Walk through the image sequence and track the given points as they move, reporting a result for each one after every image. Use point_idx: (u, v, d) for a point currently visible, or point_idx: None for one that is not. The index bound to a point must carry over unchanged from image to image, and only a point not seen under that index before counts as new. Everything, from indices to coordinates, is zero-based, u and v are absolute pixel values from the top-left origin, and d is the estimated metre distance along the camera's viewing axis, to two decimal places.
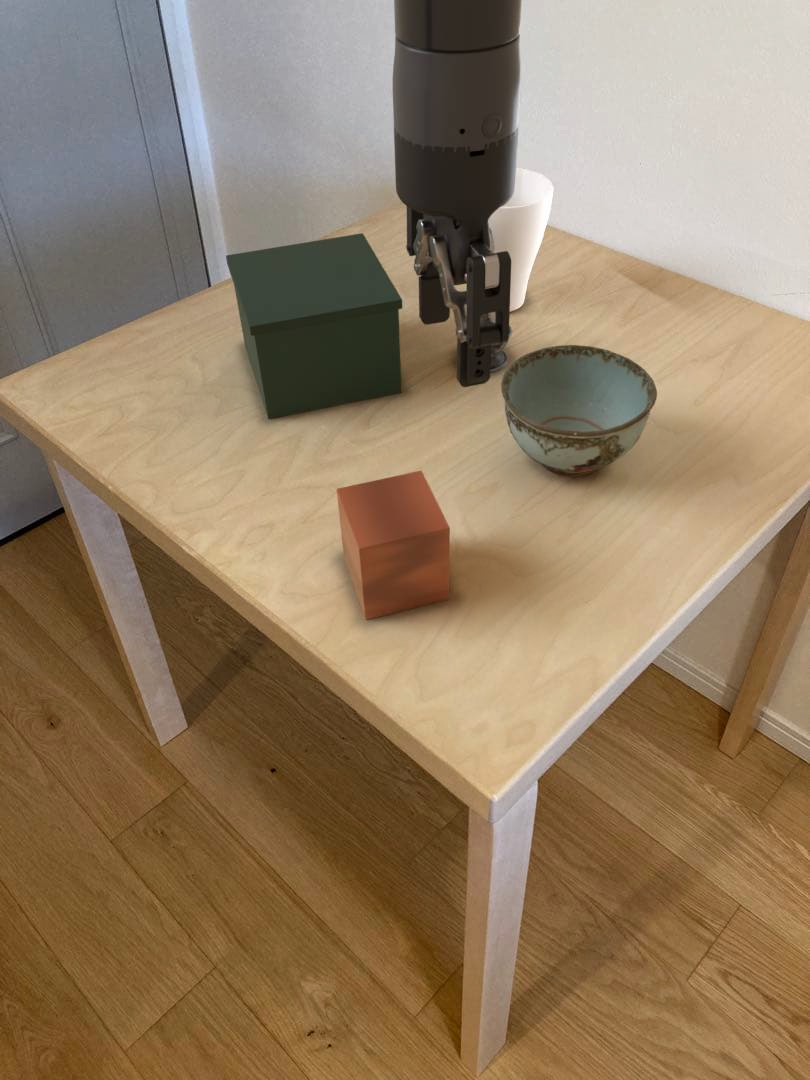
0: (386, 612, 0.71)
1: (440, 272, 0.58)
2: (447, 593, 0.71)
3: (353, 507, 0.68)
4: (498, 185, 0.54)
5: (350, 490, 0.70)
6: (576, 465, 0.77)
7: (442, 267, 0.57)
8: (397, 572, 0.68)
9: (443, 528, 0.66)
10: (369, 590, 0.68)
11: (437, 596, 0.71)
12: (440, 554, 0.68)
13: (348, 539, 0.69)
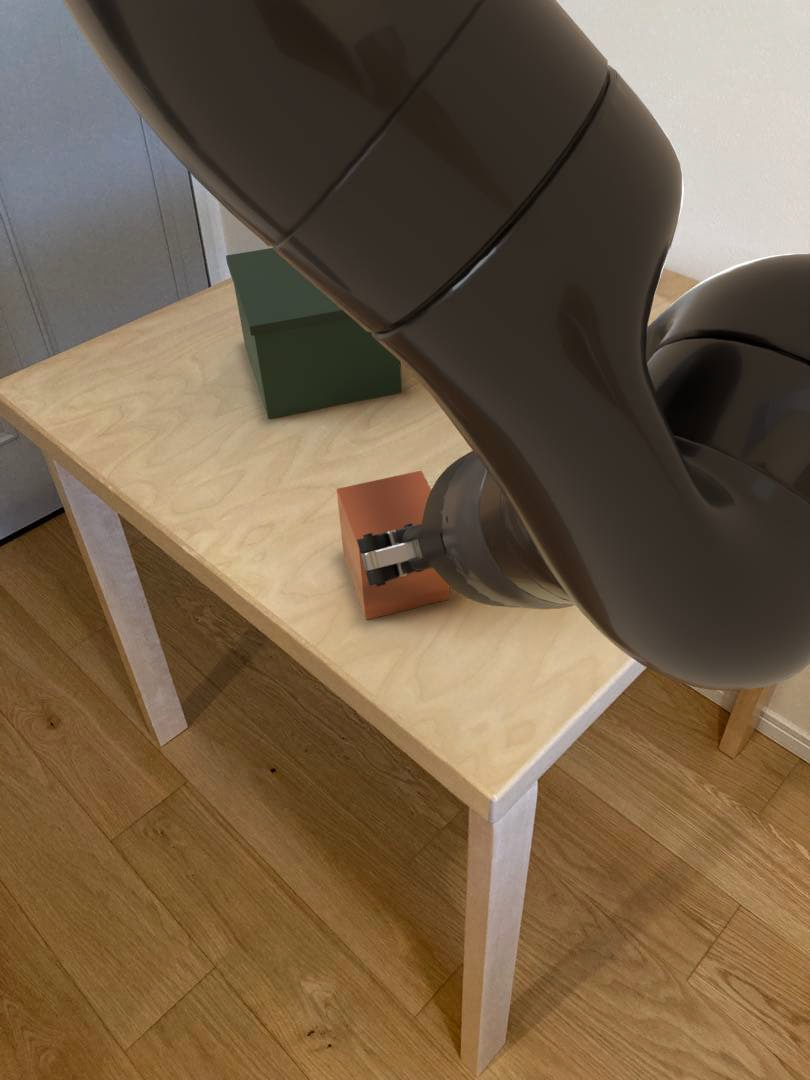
0: (386, 612, 0.71)
1: None
2: (447, 593, 0.71)
3: (353, 507, 0.68)
4: (448, 576, 0.40)
5: (350, 490, 0.70)
6: None
7: None
8: None
9: None
10: (369, 590, 0.68)
11: (437, 596, 0.71)
12: None
13: (348, 539, 0.69)
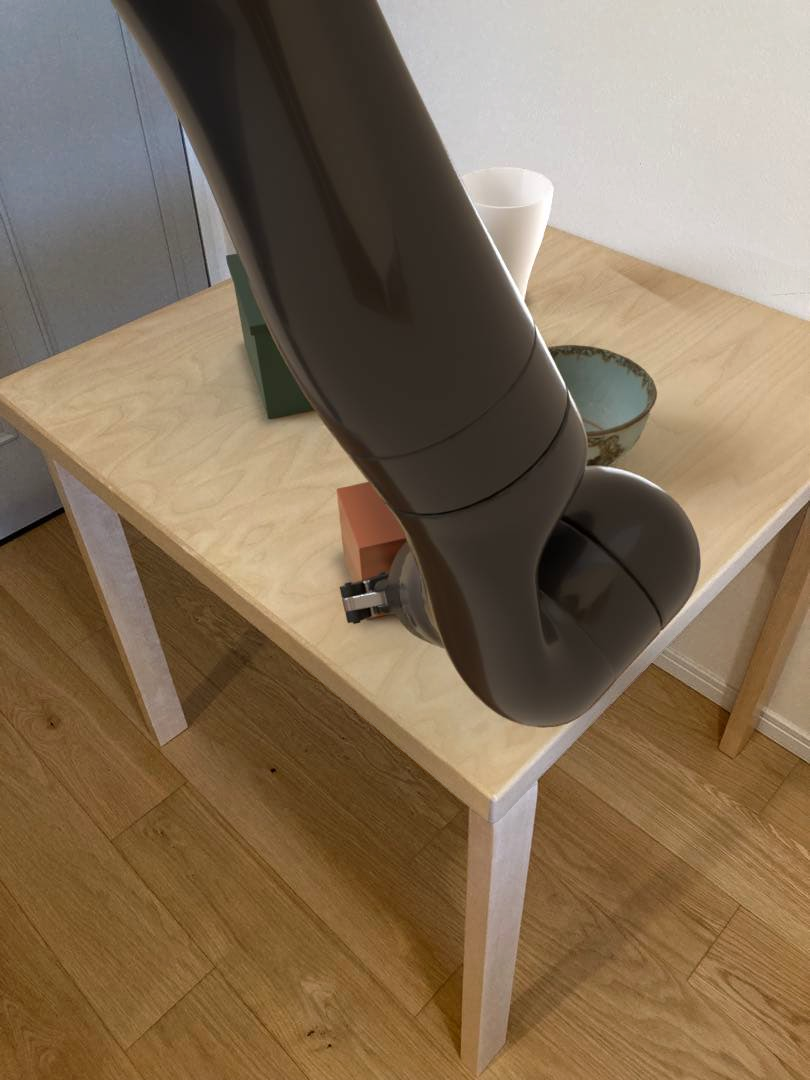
0: None
1: None
2: None
3: (353, 507, 0.68)
4: (404, 623, 0.53)
5: (350, 490, 0.70)
6: None
7: None
8: None
9: None
10: None
11: None
12: None
13: (348, 539, 0.70)
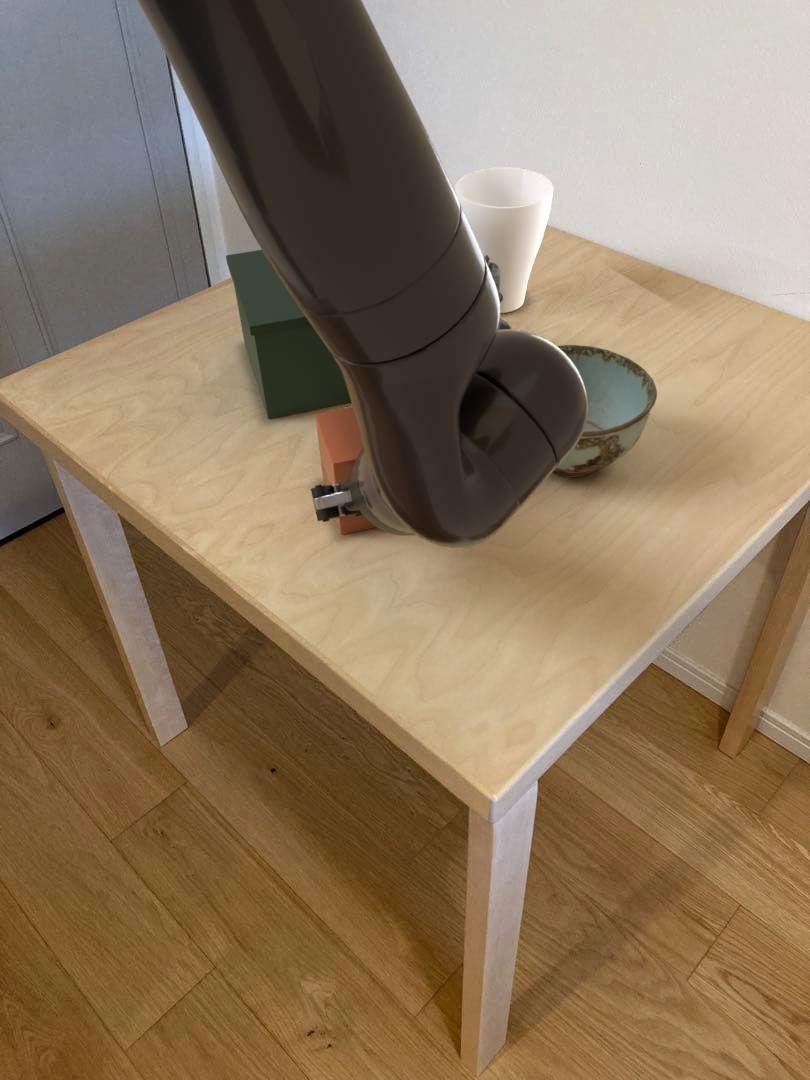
0: (360, 528, 0.78)
1: None
2: None
3: (329, 429, 0.75)
4: (365, 512, 0.60)
5: (327, 415, 0.77)
6: (576, 465, 0.77)
7: None
8: None
9: None
10: None
11: None
12: None
13: (325, 460, 0.76)
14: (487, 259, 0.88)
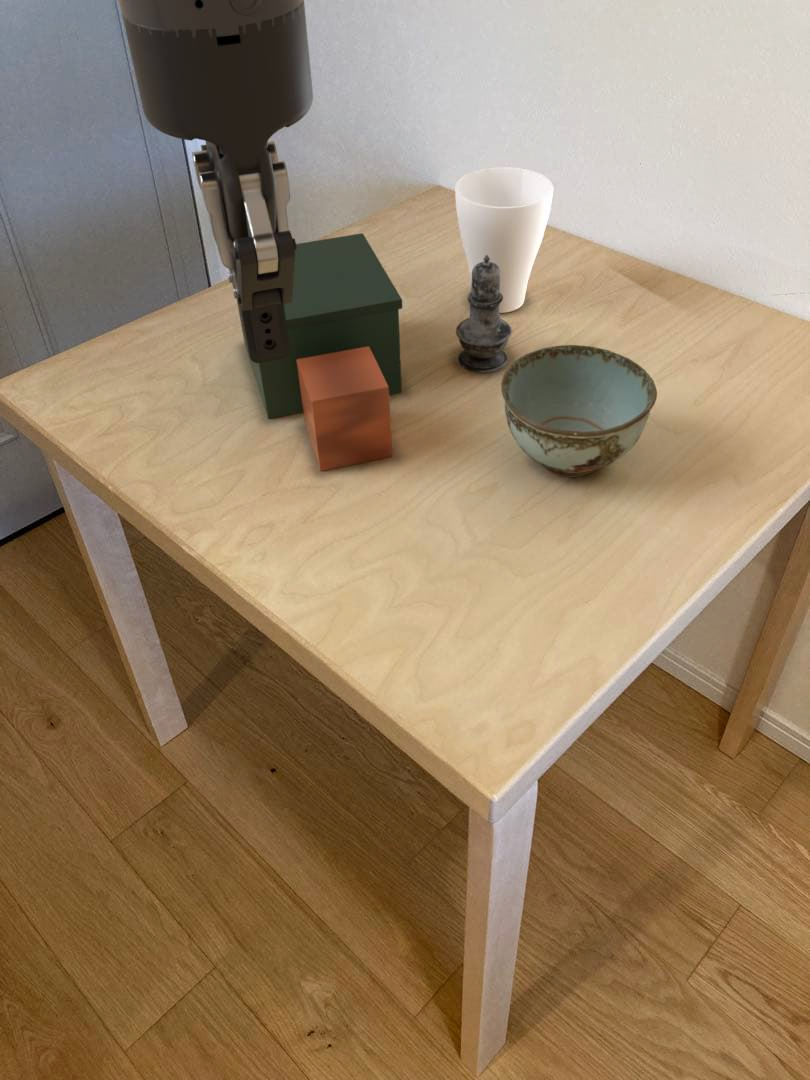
0: (338, 465, 0.84)
1: (213, 218, 0.42)
2: (390, 450, 0.84)
3: (309, 372, 0.81)
4: (273, 93, 0.37)
5: (307, 360, 0.83)
6: (576, 465, 0.77)
7: (214, 221, 0.42)
8: (345, 427, 0.81)
9: (383, 387, 0.79)
10: (322, 442, 0.81)
11: (381, 452, 0.84)
12: (381, 411, 0.81)
13: (306, 401, 0.83)
14: (487, 259, 0.88)
